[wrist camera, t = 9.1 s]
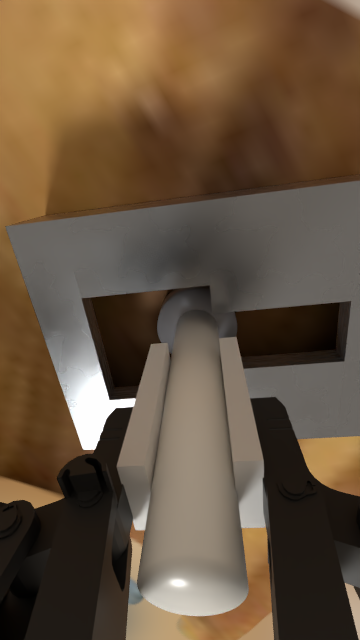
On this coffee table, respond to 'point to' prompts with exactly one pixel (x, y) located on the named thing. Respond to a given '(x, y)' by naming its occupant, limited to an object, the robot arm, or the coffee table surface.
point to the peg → (194, 471)
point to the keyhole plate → (202, 270)
